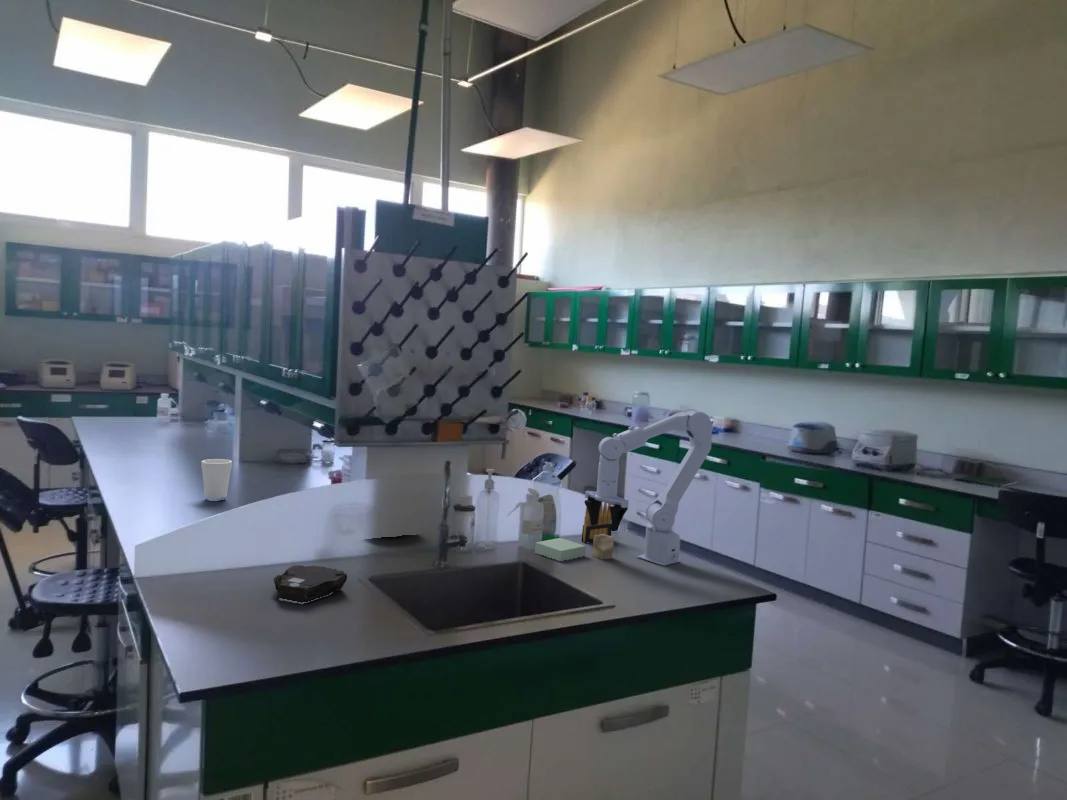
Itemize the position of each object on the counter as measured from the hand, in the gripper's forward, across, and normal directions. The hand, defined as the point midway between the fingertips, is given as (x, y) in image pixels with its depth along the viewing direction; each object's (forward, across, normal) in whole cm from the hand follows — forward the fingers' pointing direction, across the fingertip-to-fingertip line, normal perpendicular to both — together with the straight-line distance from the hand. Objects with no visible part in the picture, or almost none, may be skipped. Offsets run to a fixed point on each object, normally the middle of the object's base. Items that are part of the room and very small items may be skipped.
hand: (604, 527), depth 215 cm
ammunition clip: (+9, -13, +12) cm, 20 cm away
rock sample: (+9, -16, -81) cm, 83 cm away
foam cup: (+9, -116, -64) cm, 133 cm away
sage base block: (+8, -8, -9) cm, 15 cm away
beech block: (+8, 0, 0) cm, 8 cm away
